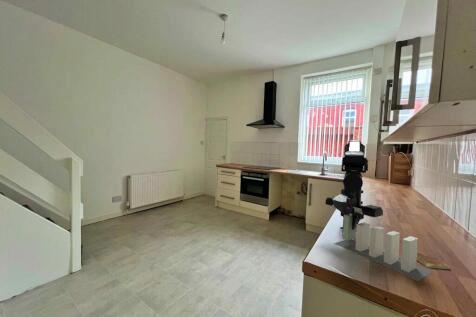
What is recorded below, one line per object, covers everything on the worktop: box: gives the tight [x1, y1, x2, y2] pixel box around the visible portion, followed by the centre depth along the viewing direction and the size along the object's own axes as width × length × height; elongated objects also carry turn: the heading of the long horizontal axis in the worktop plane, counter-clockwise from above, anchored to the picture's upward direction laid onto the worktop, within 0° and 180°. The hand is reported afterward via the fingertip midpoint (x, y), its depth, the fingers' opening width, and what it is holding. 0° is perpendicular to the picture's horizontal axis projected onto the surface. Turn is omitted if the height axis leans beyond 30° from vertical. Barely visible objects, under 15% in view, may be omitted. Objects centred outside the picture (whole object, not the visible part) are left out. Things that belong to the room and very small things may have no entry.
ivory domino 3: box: [383, 230, 401, 265], centre depth 64 cm, size 5×2×9 cm, turn 119°
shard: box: [416, 252, 451, 270], centre depth 66 cm, size 11×8×2 cm
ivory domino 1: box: [355, 222, 371, 252], centre depth 72 cm, size 5×2×9 cm, turn 119°
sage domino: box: [342, 214, 356, 241], centre depth 75 cm, size 5×2×9 cm, turn 119°
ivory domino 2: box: [369, 226, 385, 258], centre depth 68 cm, size 5×2×9 cm, turn 119°
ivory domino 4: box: [401, 235, 419, 272], centre depth 60 cm, size 5×2×9 cm, turn 119°
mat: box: [334, 239, 434, 282], centre depth 67 cm, size 10×25×1 cm, turn 29°
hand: (350, 228), depth 76 cm, fingers closed on sage domino, 2 cm apart
